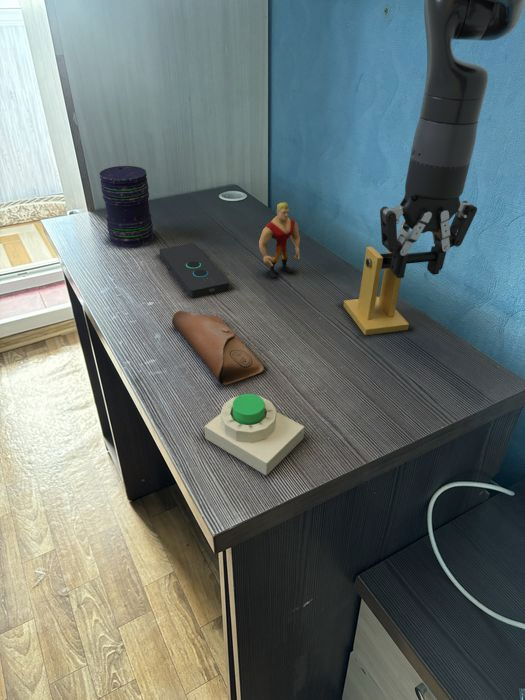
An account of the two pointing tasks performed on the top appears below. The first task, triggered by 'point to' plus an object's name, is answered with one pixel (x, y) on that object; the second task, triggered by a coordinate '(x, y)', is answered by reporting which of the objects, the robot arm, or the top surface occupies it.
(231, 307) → the top surface
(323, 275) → the top surface
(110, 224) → the storage jar
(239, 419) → the light button
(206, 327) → the sunglasses case
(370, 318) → the lever bracket
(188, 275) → the smart home device
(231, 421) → the switch box
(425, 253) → the switch lever
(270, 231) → the action figure
